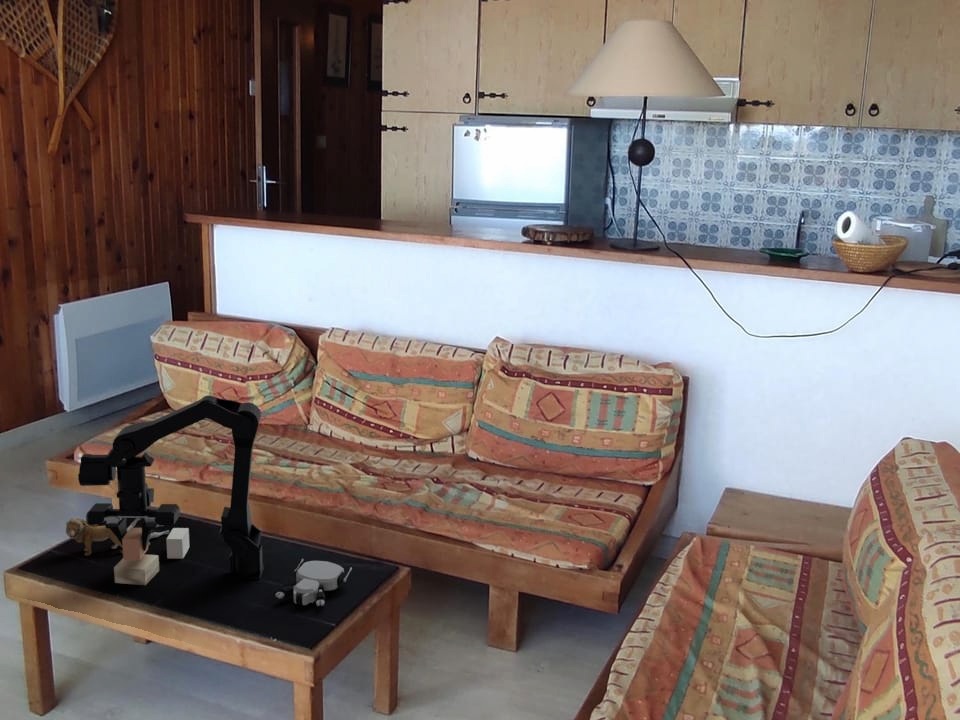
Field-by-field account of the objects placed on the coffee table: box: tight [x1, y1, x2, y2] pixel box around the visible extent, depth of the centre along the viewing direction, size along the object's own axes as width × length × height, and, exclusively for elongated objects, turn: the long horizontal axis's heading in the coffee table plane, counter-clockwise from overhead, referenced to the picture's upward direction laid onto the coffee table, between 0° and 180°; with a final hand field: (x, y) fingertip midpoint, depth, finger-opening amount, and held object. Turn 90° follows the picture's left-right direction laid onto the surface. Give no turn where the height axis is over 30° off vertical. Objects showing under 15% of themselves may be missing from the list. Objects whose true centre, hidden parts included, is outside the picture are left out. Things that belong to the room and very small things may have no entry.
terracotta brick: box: [122, 527, 149, 560], centre depth 205 cm, size 4×6×5 cm, turn 3°
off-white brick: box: [165, 527, 190, 560], centre depth 219 cm, size 4×6×5 cm, turn 3°
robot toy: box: [275, 558, 353, 607], centre depth 203 cm, size 12×4×15 cm
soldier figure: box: [126, 518, 170, 546], centre depth 224 cm, size 8×5×12 cm
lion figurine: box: [65, 518, 123, 557], centre depth 217 cm, size 15×5×9 cm, turn 109°
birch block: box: [113, 553, 160, 586], centre depth 207 cm, size 7×7×4 cm
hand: (135, 549), depth 206 cm, fingers closed on terracotta brick, 4 cm apart
